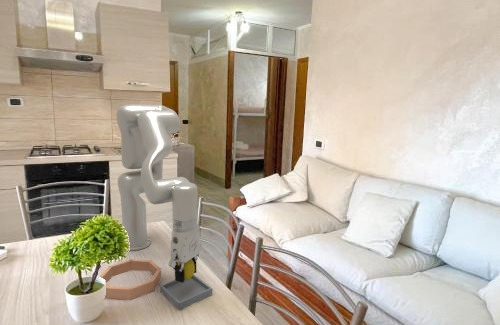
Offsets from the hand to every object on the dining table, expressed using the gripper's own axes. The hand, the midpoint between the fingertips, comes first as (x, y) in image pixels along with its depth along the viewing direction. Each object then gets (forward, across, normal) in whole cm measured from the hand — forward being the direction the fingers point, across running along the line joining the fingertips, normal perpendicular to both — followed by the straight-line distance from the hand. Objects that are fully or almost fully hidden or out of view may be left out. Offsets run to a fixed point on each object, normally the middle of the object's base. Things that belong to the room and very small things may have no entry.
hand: (186, 275), depth 104 cm
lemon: (+2, 0, 0) cm, 2 cm away
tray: (+6, 0, 0) cm, 6 cm away
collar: (+6, -4, +20) cm, 21 cm away
